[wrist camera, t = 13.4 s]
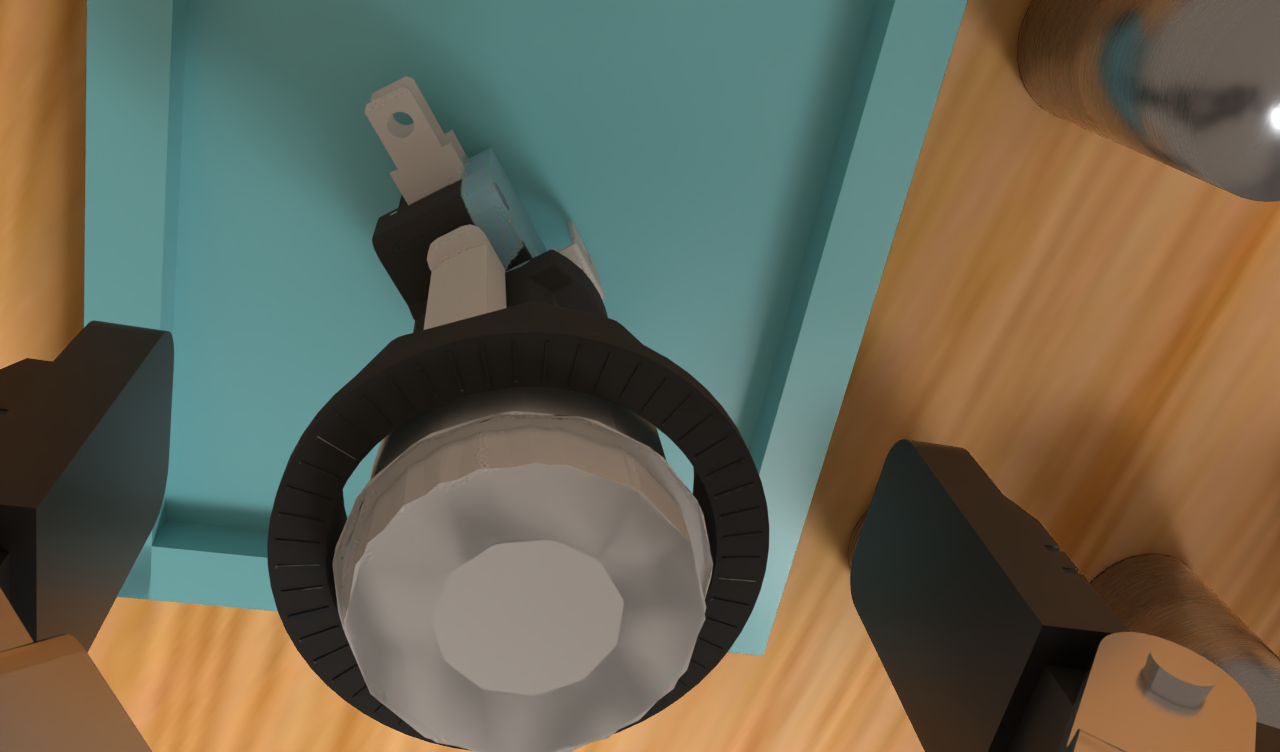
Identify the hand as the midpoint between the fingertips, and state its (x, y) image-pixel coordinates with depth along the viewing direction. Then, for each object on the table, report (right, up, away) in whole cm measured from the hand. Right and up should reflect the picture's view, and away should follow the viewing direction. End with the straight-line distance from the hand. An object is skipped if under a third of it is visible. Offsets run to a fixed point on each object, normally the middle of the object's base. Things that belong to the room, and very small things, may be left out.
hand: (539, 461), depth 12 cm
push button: (-2, +3, +7) cm, 8 cm away
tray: (-1, +4, +8) cm, 9 cm away
